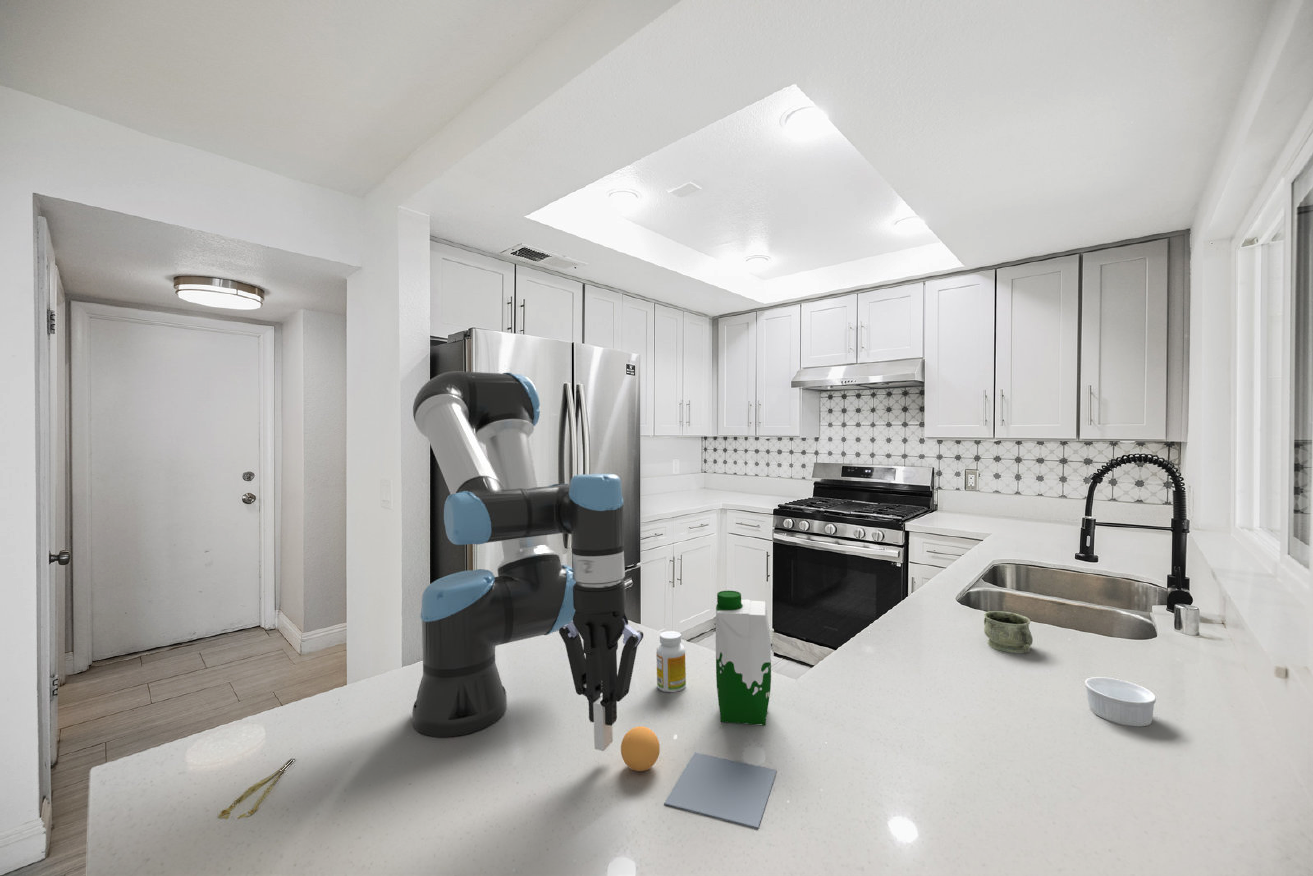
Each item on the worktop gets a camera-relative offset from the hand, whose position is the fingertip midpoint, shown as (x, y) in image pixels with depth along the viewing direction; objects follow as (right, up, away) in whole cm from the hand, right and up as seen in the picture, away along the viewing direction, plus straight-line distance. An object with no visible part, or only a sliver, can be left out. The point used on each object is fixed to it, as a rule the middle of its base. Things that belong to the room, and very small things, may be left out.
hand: (603, 745), depth 80 cm
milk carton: (+22, -2, +13) cm, 26 cm away
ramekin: (+83, -1, +10) cm, 84 cm away
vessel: (+83, -1, +39) cm, 92 cm away
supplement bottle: (+10, -2, +23) cm, 26 cm away
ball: (+5, 0, -2) cm, 6 cm away
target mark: (+16, -2, -6) cm, 18 cm away
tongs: (-46, -4, -4) cm, 46 cm away
